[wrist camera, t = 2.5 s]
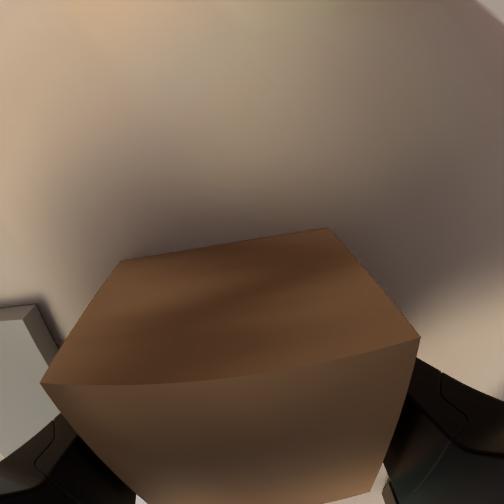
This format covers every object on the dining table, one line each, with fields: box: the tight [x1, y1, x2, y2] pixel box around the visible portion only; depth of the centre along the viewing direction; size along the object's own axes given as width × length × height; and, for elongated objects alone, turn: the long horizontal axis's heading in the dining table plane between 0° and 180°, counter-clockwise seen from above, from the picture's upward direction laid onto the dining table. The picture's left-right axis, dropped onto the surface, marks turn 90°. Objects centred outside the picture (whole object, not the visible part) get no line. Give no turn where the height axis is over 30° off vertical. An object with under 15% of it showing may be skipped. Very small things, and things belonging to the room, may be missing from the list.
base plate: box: [0, 304, 61, 458], centre depth 11 cm, size 12×12×1 cm
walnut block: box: [40, 228, 421, 504], centre depth 7 cm, size 6×6×5 cm
